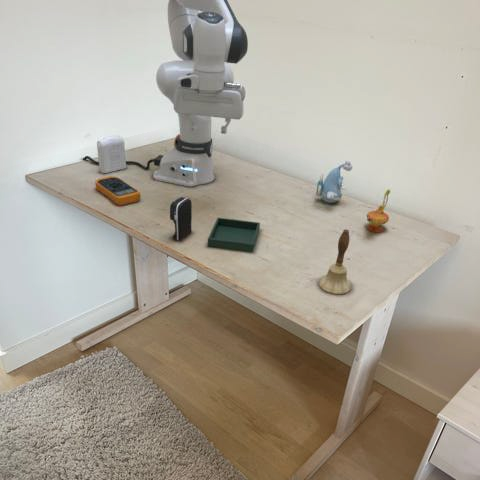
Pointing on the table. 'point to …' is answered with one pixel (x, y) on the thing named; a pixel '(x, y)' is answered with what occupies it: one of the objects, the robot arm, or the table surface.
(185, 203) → the battery charger
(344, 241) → the hand bell
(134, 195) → the multimeter
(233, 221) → the storage box
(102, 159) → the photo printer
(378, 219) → the magic lamp
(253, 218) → the table surface
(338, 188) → the toy figure
